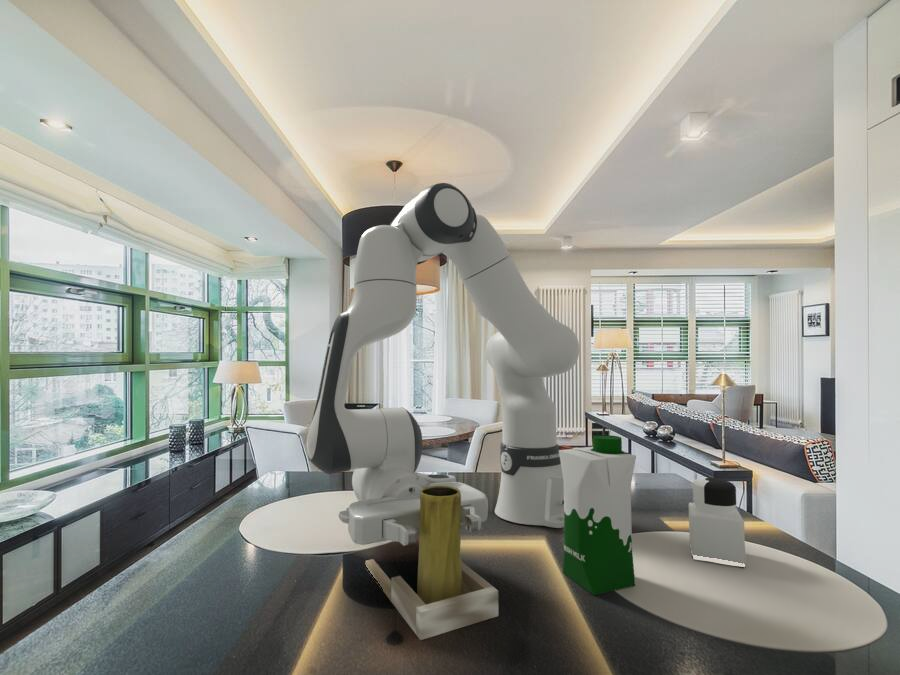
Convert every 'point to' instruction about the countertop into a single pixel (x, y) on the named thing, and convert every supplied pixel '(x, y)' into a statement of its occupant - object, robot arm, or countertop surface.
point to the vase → (439, 544)
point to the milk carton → (598, 515)
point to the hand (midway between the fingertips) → (444, 531)
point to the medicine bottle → (716, 521)
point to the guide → (440, 603)
